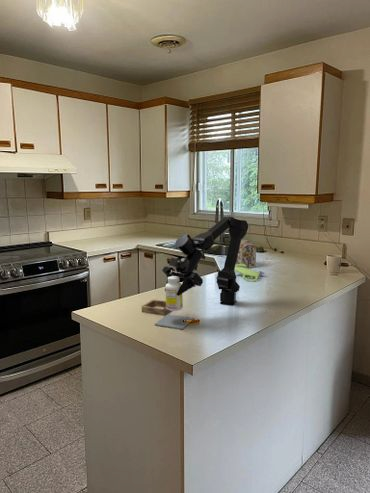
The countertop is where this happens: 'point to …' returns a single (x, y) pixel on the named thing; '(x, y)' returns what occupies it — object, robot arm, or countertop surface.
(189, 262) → the robot arm
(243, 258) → the decorative jar
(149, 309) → the walnut holder
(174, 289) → the supplement bottle
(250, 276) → the figurine
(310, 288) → the countertop surface
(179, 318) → the slate mat
